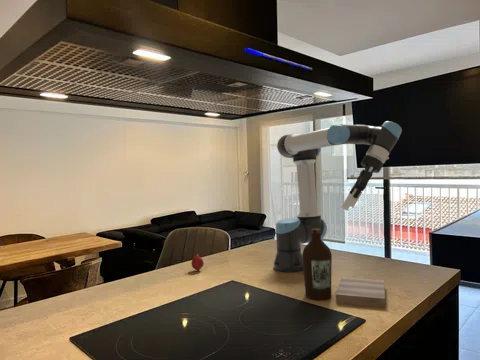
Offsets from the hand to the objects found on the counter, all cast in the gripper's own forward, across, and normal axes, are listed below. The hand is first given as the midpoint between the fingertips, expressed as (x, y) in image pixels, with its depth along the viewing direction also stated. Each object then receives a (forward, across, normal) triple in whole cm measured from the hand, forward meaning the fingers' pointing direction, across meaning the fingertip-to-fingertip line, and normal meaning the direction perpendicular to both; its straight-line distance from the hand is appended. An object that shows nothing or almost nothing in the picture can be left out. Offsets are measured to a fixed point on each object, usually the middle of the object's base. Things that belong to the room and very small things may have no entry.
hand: (346, 207), depth 131 cm
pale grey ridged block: (+25, +4, -20) cm, 33 cm away
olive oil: (+34, +2, -7) cm, 35 cm away
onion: (+58, +34, +43) cm, 80 cm away
